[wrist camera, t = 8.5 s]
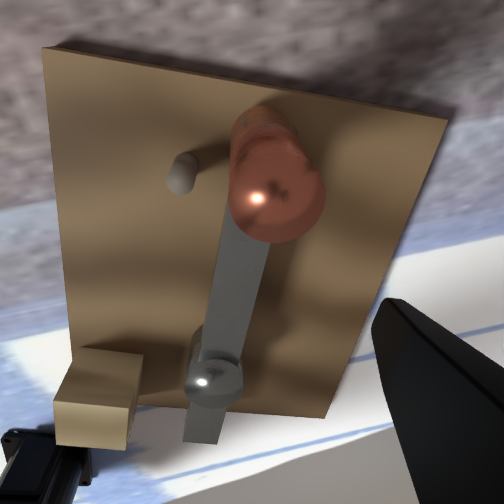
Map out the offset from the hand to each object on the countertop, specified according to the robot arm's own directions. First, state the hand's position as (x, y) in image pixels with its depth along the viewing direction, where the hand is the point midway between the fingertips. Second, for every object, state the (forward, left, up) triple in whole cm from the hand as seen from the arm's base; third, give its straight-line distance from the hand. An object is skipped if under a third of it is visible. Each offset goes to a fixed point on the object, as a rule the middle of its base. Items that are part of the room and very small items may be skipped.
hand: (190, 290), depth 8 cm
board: (-8, -2, -12) cm, 15 cm away
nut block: (-16, +5, -11) cm, 20 cm away
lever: (-8, -2, -11) cm, 13 cm away
